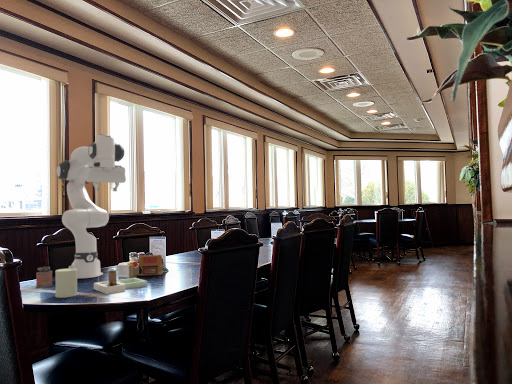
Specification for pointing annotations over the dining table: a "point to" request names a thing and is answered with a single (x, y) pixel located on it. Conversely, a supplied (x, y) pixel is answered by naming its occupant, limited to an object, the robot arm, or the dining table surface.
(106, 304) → the dining table surface
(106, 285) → the white shallow tray
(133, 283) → the parts tray
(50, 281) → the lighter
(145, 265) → the condiment caddy
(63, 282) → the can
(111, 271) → the fuse
